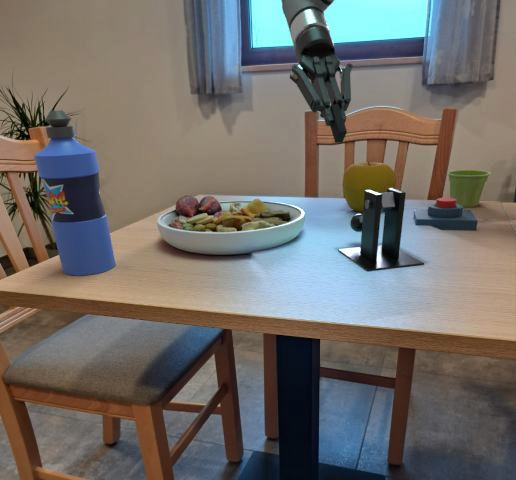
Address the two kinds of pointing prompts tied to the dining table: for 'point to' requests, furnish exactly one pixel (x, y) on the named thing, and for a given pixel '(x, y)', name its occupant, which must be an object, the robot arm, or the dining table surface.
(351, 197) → the apple
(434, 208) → the button box
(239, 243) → the bowl
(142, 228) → the dining table surface
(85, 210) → the water bottle
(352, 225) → the switch lever
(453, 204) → the red button
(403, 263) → the stand
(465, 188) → the plant pot
